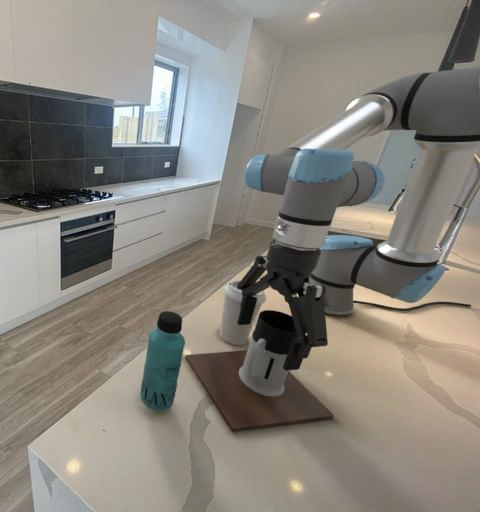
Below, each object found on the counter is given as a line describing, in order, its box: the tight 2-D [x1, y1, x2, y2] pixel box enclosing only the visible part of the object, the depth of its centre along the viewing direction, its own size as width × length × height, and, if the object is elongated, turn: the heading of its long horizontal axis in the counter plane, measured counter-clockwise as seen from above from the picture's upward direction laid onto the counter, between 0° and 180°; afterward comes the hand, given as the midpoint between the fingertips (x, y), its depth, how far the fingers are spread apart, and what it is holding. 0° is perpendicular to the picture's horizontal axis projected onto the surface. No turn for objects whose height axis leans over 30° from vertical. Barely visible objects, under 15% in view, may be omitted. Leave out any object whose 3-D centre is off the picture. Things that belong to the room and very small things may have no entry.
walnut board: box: [184, 349, 335, 433], centre depth 63 cm, size 21×19×1 cm
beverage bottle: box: [139, 310, 186, 412], centre depth 54 cm, size 6×7×20 cm
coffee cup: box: [219, 279, 267, 346], centre depth 76 cm, size 10×10×15 cm
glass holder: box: [239, 309, 298, 397], centre depth 59 cm, size 9×14×15 cm, turn 129°
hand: (264, 344), depth 59 cm, fingers open, 13 cm apart
